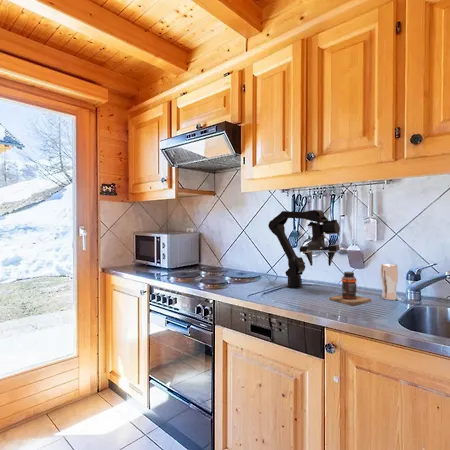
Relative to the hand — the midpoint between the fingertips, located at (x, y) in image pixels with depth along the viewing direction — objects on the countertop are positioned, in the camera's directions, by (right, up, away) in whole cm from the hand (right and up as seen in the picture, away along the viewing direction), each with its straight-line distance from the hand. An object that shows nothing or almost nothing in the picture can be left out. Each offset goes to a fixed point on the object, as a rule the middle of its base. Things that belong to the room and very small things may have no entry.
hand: (320, 265), depth 153 cm
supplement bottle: (+7, -12, -19) cm, 23 cm away
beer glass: (+26, -13, -16) cm, 33 cm away
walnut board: (+7, -13, -19) cm, 24 cm away
